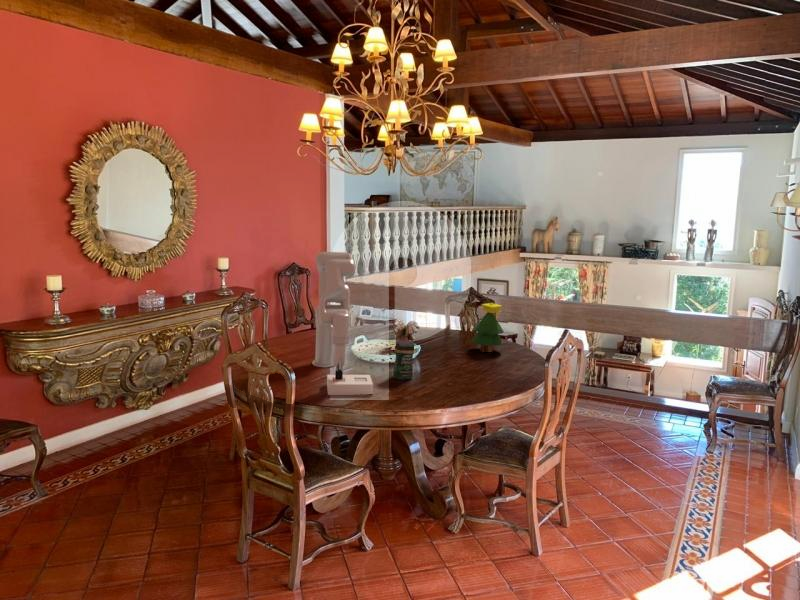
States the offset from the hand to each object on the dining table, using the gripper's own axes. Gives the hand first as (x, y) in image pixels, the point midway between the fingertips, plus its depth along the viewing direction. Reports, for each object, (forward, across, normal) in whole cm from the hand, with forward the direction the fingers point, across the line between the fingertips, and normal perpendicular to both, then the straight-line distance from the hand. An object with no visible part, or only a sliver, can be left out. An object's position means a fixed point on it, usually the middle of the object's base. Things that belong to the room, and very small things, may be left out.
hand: (338, 378), depth 271 cm
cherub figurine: (+5, -73, +44) cm, 85 cm away
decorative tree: (+5, -69, +92) cm, 115 cm away
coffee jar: (+6, -18, +33) cm, 38 cm away
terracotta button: (+3, 0, 0) cm, 3 cm away
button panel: (+5, 0, +5) cm, 7 cm away
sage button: (+4, 0, +10) cm, 11 cm away
